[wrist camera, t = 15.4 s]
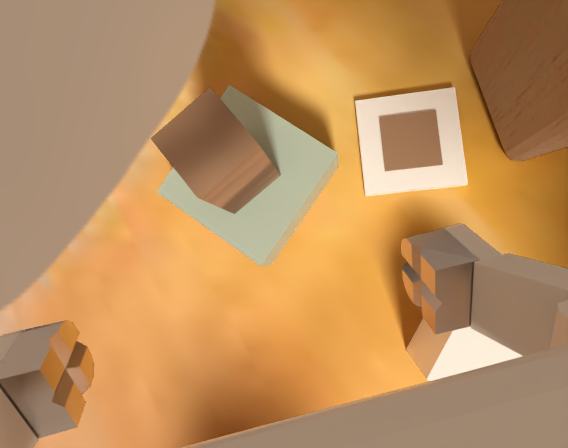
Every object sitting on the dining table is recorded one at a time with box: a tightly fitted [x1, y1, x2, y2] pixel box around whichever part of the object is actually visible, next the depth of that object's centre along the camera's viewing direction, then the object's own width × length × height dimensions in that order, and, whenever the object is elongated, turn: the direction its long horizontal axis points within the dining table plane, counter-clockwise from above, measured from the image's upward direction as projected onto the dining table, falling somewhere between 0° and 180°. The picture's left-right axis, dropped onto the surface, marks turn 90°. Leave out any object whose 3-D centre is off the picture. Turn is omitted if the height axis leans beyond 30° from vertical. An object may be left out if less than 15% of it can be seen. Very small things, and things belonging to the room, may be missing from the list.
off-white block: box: [406, 318, 522, 381], centre depth 28 cm, size 4×4×8 cm
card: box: [355, 87, 468, 196], centre depth 33 cm, size 8×8×1 cm
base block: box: [157, 85, 338, 266], centre depth 33 cm, size 10×10×5 cm
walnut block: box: [151, 87, 281, 214], centre depth 27 cm, size 4×4×8 cm
